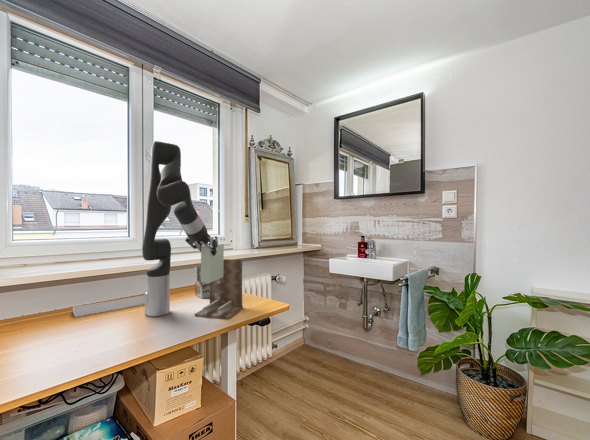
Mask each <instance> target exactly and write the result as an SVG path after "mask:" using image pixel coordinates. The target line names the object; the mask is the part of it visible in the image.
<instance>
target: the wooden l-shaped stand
mask: <svg viewBox="0 0 590 440" xmlns="http://www.w3.org/2000/svg"><path fill="white" fill-rule="evenodd" d="M243 308H244V306H243V259H235V258H233V259H229V258H228V259H227V258H224V269H223V277H222V278H220V279H218V280H215V281H213V282H211V283H210V297H209V304H207V305H205V306H204V307H203V308H202V309H201V310H199V311H197V312H195V313H194V317H197V318H198V317H200V318H209V319H222V320H223V319H225V320H229V319H231V318H232V317H233V316H235V315H236V314H237V313H239V312H240V311H241V310H242V309H243Z"/></svg>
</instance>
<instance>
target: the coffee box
mask: <svg viewBox="0 0 590 440" xmlns="http://www.w3.org/2000/svg"><path fill="white" fill-rule="evenodd" d="M194 280H195V281H194V285H195V286H194V292H195V293H194V296H196V297H198V298H200V299H206V298H207V299H208V298H210V283H203V282H201V265H199V266H198V265H197V266H194Z"/></svg>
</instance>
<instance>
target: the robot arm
mask: <svg viewBox="0 0 590 440" xmlns="http://www.w3.org/2000/svg"><path fill="white" fill-rule="evenodd" d="M181 163H182V152H181V148H180V146H178V145H177V144H174V143H169V142H163V141H159V140H155V141H153V142H152V145H151V149H150V177H149V186H148V188H149V189H148V196H147V206H146V209H147V210H146V223H145V230H144V236H143V241H142V248H141V249H142V251H141V252H142V256H143V257H142V258H143V259H144V260H145V261H147V262H149V261H150V262H151V261H158V262H157V263H156V264H155V265H153V266H150V267H149V268H148V269H147V270H146V292H145V293H144V295H145V304H144V315H146V316H148V317H161V316H165V315H167V314H169V313H170V312H171V309H170V304H171V303H170V302H171V299H170V298H171V297H170V294H171V293H170V289H171V288H170V287H171V286H170V284H171V283H170V280H171V279H170V274H171V273H170V271H171V270H170V269H171V259H172V258H171V255H172V245H171V241H170V240H169V239H167V238H156V236H157V235H156V234H157V232H158V229H159V228H160V227H161V226H162V224H163V223H164V222H165V220H167V218H168V217H169V215H170V214H171V210H172V206H174V205H176V206H174V208H173V214H174V215H175V217H176V219H177V220H178V222H179V224H180V225H181V226H180V227H181V228H182V229H183V231H184V233H185V235H186V238H185V239H184V240H185V242H186V243H187V244H188V245H189V246H190V247H191V248H192V249H194V250H196V249H197V250H199V252H200V253H201V246H205V247H206V248H208V249H209V250H210V251H211V253H212V255H213V256H215V255H216V252H217V251H216V248H217V246H218V244H219V242H218V241H219V240H218V236H214V237H213V236H211V235H210V234H209V233H208V232H209V231H208V228H207V227H206V225H205V222H203V220H202V218H201V216H200V215H199V214H198V212H197V210H196V208H195V207H194V204H193V200H192V195H191V194H192V193H191V189H190V186H189V185H188V183H187V182H185V181H183V177H182V173H181V168H182V164H181ZM161 165H162V166H163V168H162V169H161V171H160V166H161ZM210 245H211V247H210Z"/></svg>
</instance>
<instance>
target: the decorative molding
mask: <svg viewBox="0 0 590 440" xmlns="http://www.w3.org/2000/svg"><path fill="white" fill-rule="evenodd" d="M143 305H144V306H145V294H144V295H138V296H133V297H132V296H131V297H127V298H120V299H116V300H115V299H114V300H109V301H103V302H102V301H101V302H98V303H96V302H95V303H90V304H85V305H78V306H73V307H72V313H73V316H74V318H79V317H83V316H84V315H85V316H90V315H94V314H95V313H96V314H100V312H101V313H105V312H110V311H111V310H112V311H117V310H121V309H126V308H127V309H128V308H133V307H137V306H143ZM89 314H90V315H89ZM96 314H95V315H96ZM85 316H84V317H85Z"/></svg>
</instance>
